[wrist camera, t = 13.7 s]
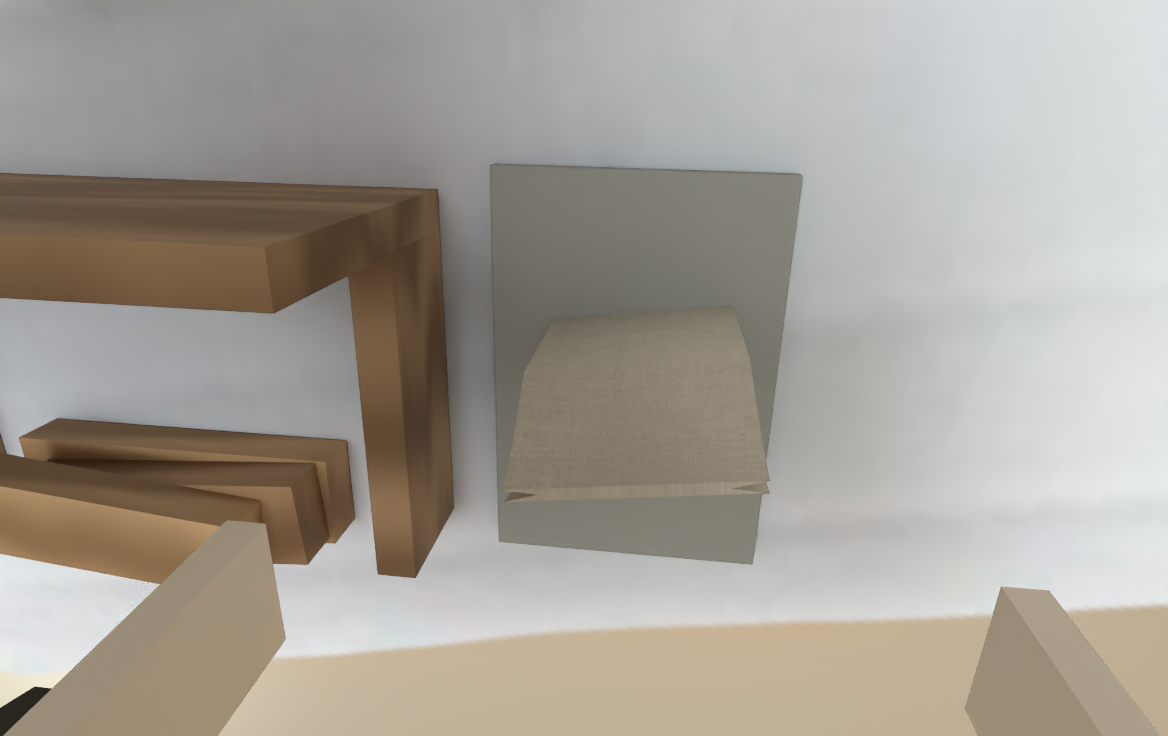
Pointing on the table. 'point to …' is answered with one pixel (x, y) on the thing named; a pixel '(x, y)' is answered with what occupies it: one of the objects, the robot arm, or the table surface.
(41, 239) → the bench
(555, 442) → the tea bag
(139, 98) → the table surface
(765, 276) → the mat
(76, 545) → the offcut stack
